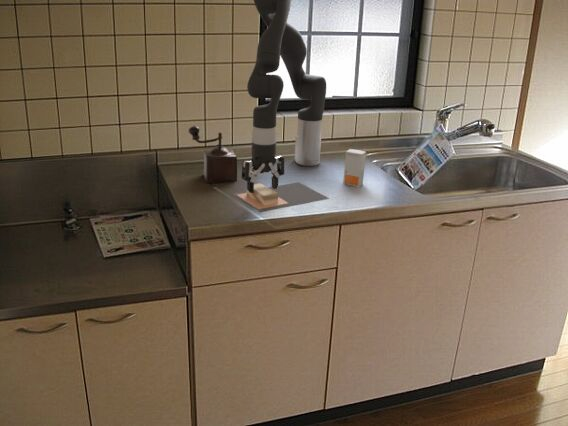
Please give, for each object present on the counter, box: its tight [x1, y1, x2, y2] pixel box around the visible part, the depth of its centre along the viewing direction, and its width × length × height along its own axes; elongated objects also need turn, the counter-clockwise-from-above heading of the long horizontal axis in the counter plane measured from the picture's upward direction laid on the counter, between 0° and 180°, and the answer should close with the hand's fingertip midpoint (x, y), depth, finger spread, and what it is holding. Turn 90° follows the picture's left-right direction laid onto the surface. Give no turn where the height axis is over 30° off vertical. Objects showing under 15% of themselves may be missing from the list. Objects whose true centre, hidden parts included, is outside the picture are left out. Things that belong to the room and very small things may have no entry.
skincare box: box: [342, 148, 367, 188], centre depth 209 cm, size 6×4×12 cm
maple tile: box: [246, 182, 278, 206], centre depth 191 cm, size 11×5×3 cm, turn 33°
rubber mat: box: [232, 181, 330, 213], centre depth 196 cm, size 18×26×1 cm
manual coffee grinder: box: [188, 125, 238, 185], centre depth 208 cm, size 16×11×18 cm
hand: (262, 190), depth 191 cm, fingers open, 8 cm apart
